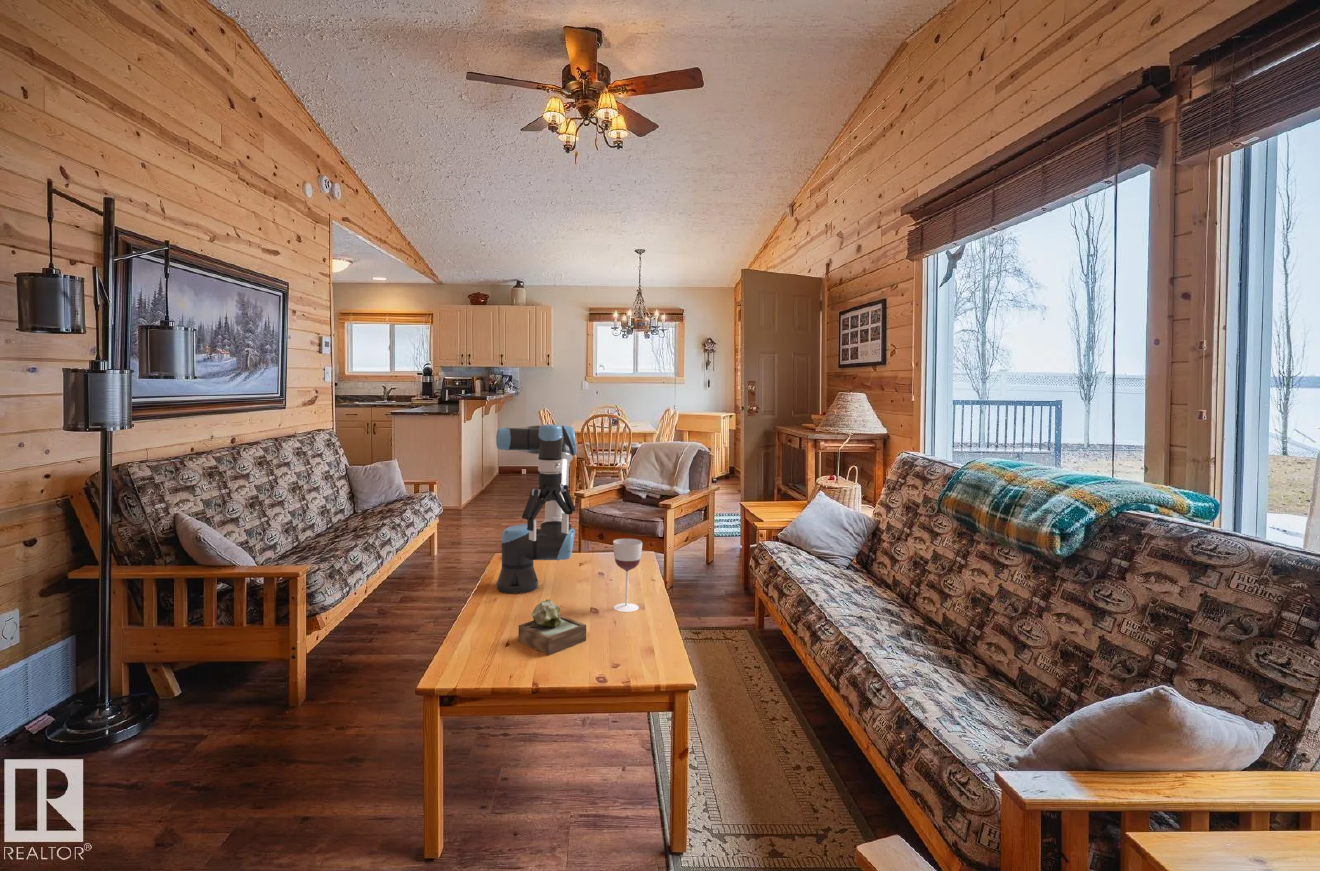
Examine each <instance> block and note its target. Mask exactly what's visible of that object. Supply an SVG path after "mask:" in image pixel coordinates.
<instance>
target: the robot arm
mask: <svg viewBox="0 0 1320 871" xmlns="http://www.w3.org/2000/svg"><path fill="white" fill-rule="evenodd" d="M575 432H576V431H575V428H574V427H572V426H568V425H560V424H541V425H530V426H525V427H524V426H523V427H500V428H498V429H497V431H496V433H495V434H496V435H495V443H496V444H495V445H496V448H497V450H499V451H519V452H521V453H526V454H531V455H538V459H537V460H538V462H537V463H538V464H537V465H538V466H537V471H538V474H537V484H538V485H539V487H538V488H537V489H536V488H531V489H530V494H529V497H528V499H527V502H526V505H525V508H524V511H523V512H522V515H521V518H522V519H523V520H526V521H527V523H522V524H521V523H520V524H516V525H515V524H514V525H511V526H509V527H506V528H504V529H503V531H502V533H501V541H500V542H501V567H500V568H501V569H500V572H499V575H498V577H497V578H498V579H497V581H496V590H497V591H498V592H499V593H503V594H504V593H505V594H515V595H516V594H523V593H530V592H533V591H534V590H537V589H538V587H539V580H538V578H537V577H538V576H537V573H536V570H535V567H534V561H557V562H558V561H566V560H569V559H570V558H571V556H572V554H573V548H574V543H575V541H574V540H575V534H576V530H575V529H574V528H573V527H572V523H571V515H572V514H573V512H575V511H576V507H575V504H574V502H573V500H572V497H571V494H570V492H569V483H570V482H569V481H570V480H569V479H570V474H569V473H570V462H572V461H573V460H574V456H576V455H577V454H578V452H577V450H578V449H577V439H576V433H575ZM544 505H545V506H544ZM543 506H544V520H542V522H541V523H540V528H537V520H536V518H537V516H538V514H539V513H540V511H541V510H542V508H543Z"/></svg>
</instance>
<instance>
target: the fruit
mask: <svg viewBox="0 0 1320 871" xmlns="http://www.w3.org/2000/svg"><path fill="white" fill-rule="evenodd" d="M560 611H561V606H559V605H557V604H555V603H554V602H553V601H552V599H545V600H541V601H540V603H538V604H537V605H536V606H535V607H534V609H533V612H532V614H531V616H532V619H533V620H532V621H533V622H532V624H531V625H530V626H529V628H531V627H533V626H537V625H544V626H547V627H554V628H555V627H557V626H559V625H560V624H561V622H562V621H561V618H560V615H561V612H560Z"/></svg>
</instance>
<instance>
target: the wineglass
mask: <svg viewBox="0 0 1320 871" xmlns="http://www.w3.org/2000/svg"><path fill="white" fill-rule="evenodd" d="M612 542H613V545H612V547H613V556H614V560H615V561H614V563H615V564H616V565H617V567H619V568H620V569H622V570H624V571H625V594H624V595H625V598H624V602H623V603H618V604H615V605H614V606H613V609H614V610H615V611H618V612H622V613H631V612H636V611H637V610H639V609H640V607H639V605H637V604H636V603H629V572H630V571H631V570H633V569H635V568H636V567H637V566H639V563H640V561H641V558H642V557H641V556H642V551H643V550H642V549H643V541H642V540H640V539H636V538H617V539H614V540H613V541H612Z"/></svg>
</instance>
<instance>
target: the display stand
mask: <svg viewBox="0 0 1320 871" xmlns="http://www.w3.org/2000/svg"><path fill="white" fill-rule="evenodd" d="M560 618H561V621H562V622H561V624H560V625H559V626H557V627H555V628H554V627H547V626H544V625H537V626H533V627H531V628H529V626H530V625H531V624H532V622H533V620H531V621H528V622H524V623H521V624H519V625H518V636H517V637H518V639H517V641H518V642H519V643H521V644H523V645H526V646H528V647H530V648H532V649H535V650H537V651H539V652H541V653H543V654H545V655H548V656H551V655H554V654H556V653H559V652H561V651H564V650H566V649H569V648H571V647H574V646H576V645H579V644H581V643H584V642H586V641H587V624H584V623H583V622H579V621H577V620H575V619H572V618H569V617H566V616H565V615H564V616H563V615H561V614H560Z"/></svg>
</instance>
